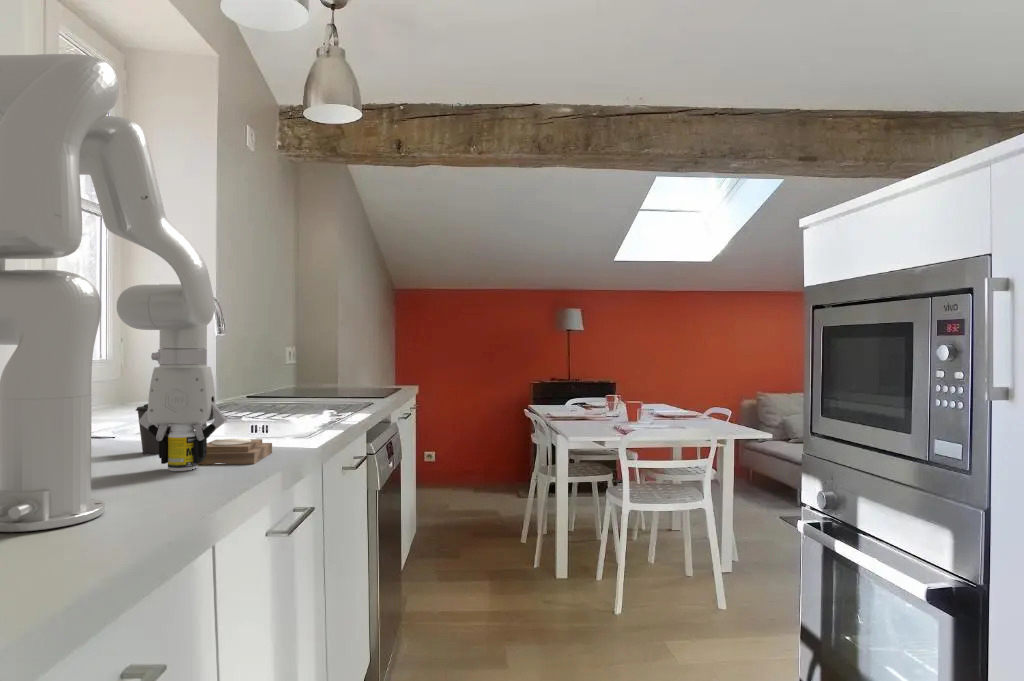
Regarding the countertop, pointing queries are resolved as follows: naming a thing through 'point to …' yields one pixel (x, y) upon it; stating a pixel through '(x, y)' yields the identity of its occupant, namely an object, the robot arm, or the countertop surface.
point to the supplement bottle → (181, 447)
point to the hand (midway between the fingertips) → (183, 461)
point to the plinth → (236, 451)
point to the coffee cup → (147, 435)
